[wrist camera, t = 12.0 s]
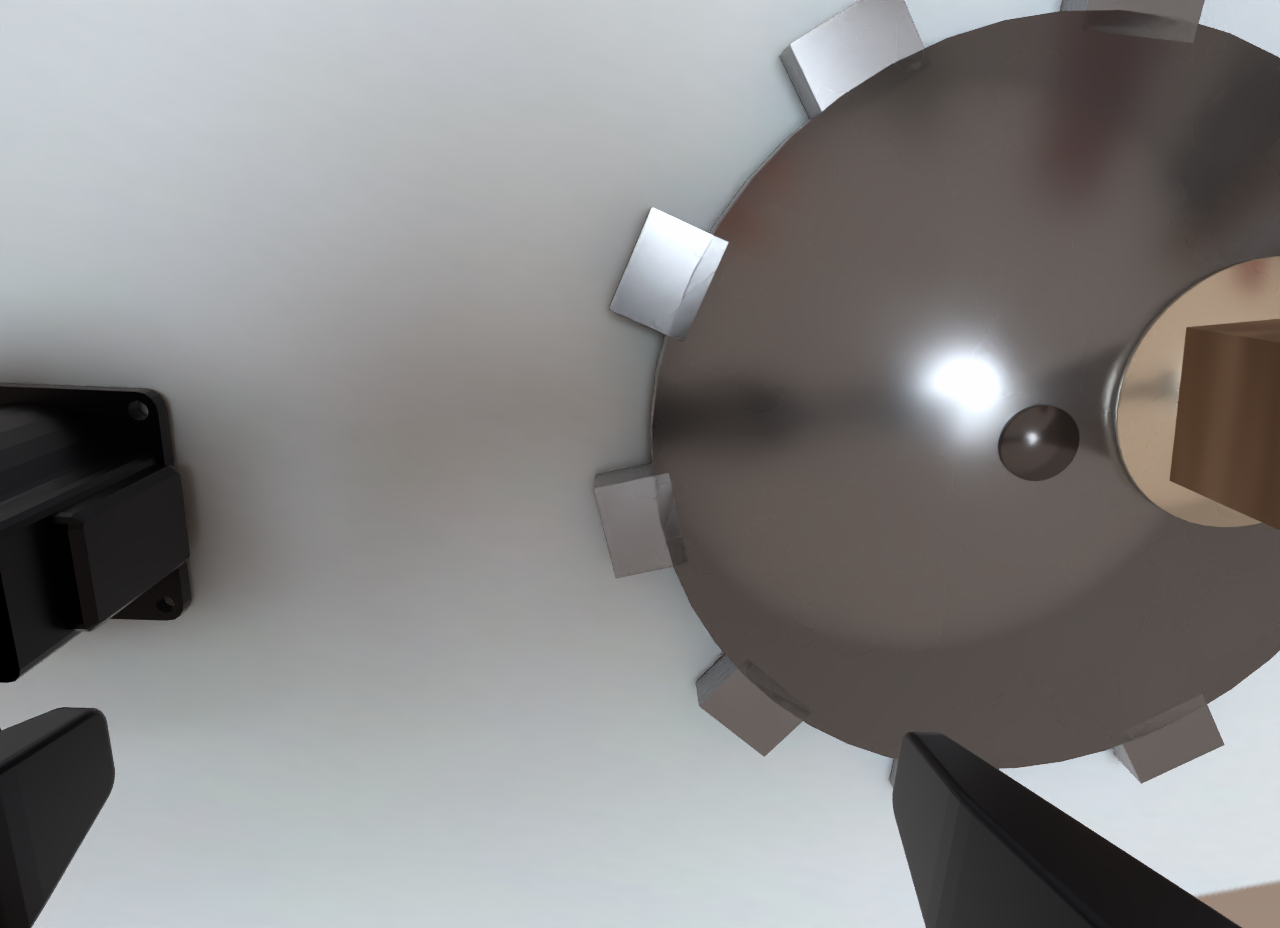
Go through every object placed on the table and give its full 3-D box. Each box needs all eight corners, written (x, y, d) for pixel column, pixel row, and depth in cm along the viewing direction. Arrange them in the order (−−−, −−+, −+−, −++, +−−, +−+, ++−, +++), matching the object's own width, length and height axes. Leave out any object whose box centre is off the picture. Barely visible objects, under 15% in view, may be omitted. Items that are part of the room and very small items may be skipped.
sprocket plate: (586, 777, 24) (583, 808, 23) (612, -81, 18) (611, -107, 16) (1299, 794, 25) (1338, 826, 24) (1576, -23, 19) (1650, -43, 17)
